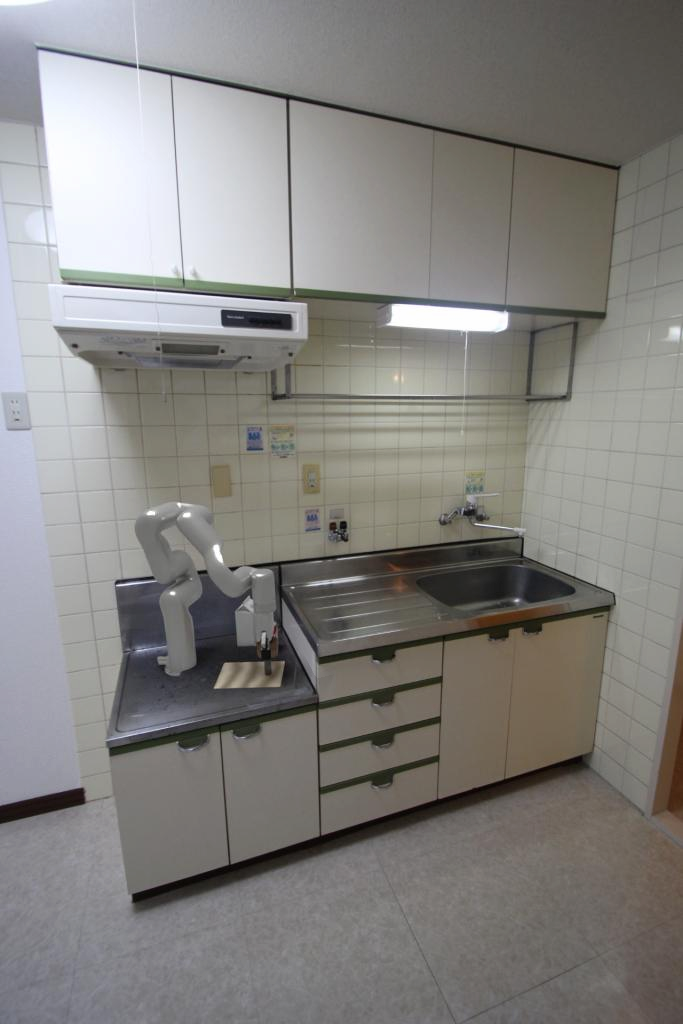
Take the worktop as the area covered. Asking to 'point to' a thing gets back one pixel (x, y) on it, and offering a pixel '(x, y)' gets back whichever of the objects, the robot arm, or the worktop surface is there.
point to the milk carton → (246, 624)
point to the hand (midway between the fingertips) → (267, 653)
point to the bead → (272, 645)
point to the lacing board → (250, 674)
